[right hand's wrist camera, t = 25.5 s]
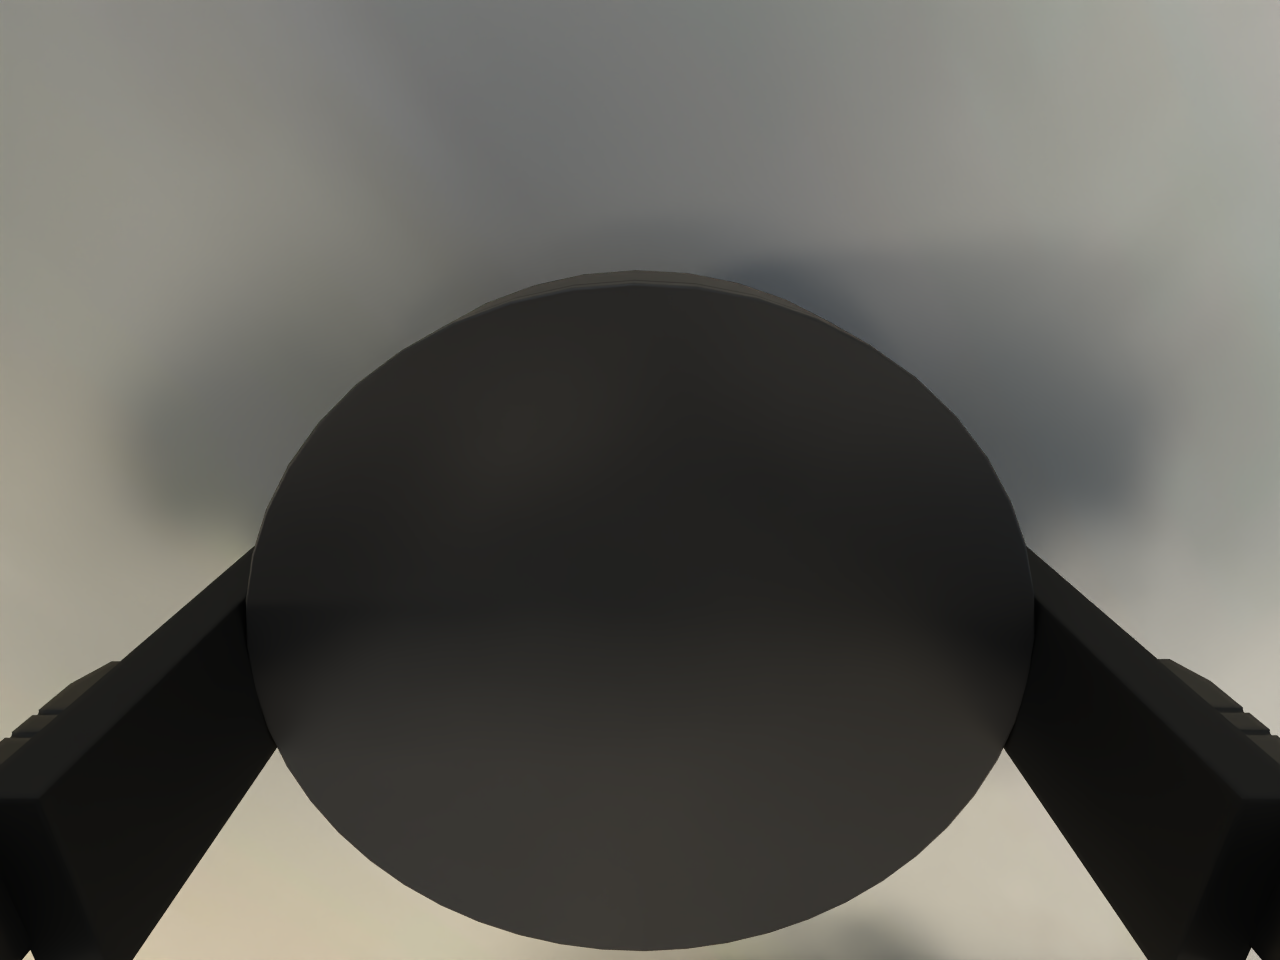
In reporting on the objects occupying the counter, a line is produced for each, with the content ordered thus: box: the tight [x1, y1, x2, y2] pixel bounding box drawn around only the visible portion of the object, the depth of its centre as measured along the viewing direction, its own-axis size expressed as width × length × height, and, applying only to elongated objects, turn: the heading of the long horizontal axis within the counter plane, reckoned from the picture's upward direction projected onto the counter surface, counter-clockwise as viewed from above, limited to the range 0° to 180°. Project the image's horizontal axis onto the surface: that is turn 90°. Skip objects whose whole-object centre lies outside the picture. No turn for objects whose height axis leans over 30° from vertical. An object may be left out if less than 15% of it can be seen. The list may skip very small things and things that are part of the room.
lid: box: [246, 270, 1035, 951], centre depth 11 cm, size 12×12×2 cm
